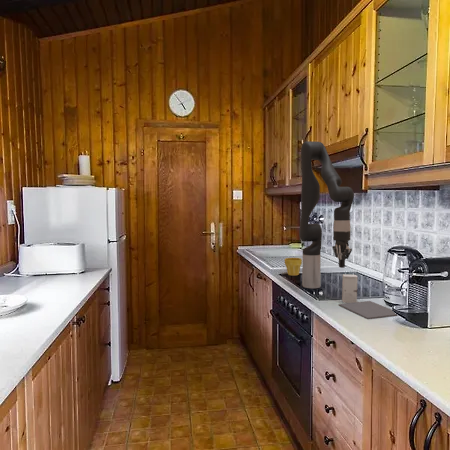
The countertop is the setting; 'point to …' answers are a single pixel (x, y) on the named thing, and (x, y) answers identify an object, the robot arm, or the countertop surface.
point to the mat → (368, 309)
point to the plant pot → (293, 265)
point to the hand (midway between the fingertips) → (341, 267)
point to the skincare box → (349, 288)
